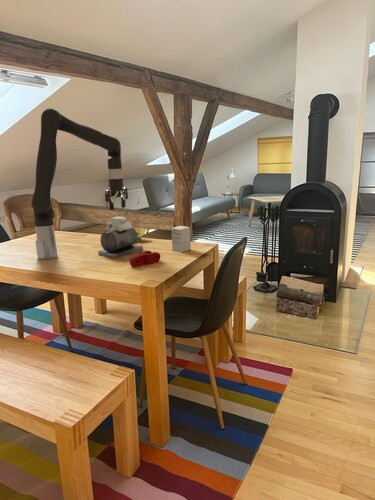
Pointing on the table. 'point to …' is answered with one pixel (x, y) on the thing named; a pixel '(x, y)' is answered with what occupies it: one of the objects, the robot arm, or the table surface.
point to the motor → (119, 241)
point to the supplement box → (181, 238)
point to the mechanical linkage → (144, 258)
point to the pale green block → (117, 221)
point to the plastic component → (140, 234)
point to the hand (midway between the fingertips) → (117, 208)
